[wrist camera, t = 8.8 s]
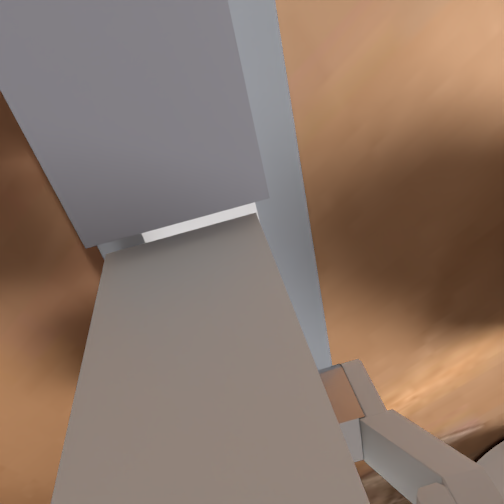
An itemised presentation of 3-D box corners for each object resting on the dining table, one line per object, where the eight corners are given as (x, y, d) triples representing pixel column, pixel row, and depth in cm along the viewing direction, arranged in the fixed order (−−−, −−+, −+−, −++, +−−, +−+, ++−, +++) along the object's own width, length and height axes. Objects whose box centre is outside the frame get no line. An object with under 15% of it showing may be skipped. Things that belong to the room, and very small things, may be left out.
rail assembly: (235, -214, 13) (316, -457, 6) (331, 374, 28) (383, 500, 21) (-87, -133, 12) (-411, -282, 5) (189, 414, 28) (195, 555, 21)
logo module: (255, 212, 12) (451, 711, 4) (292, 367, 16) (428, 776, 8) (105, 254, 12) (-29, 860, 4) (180, 399, 16) (196, 849, 8)
